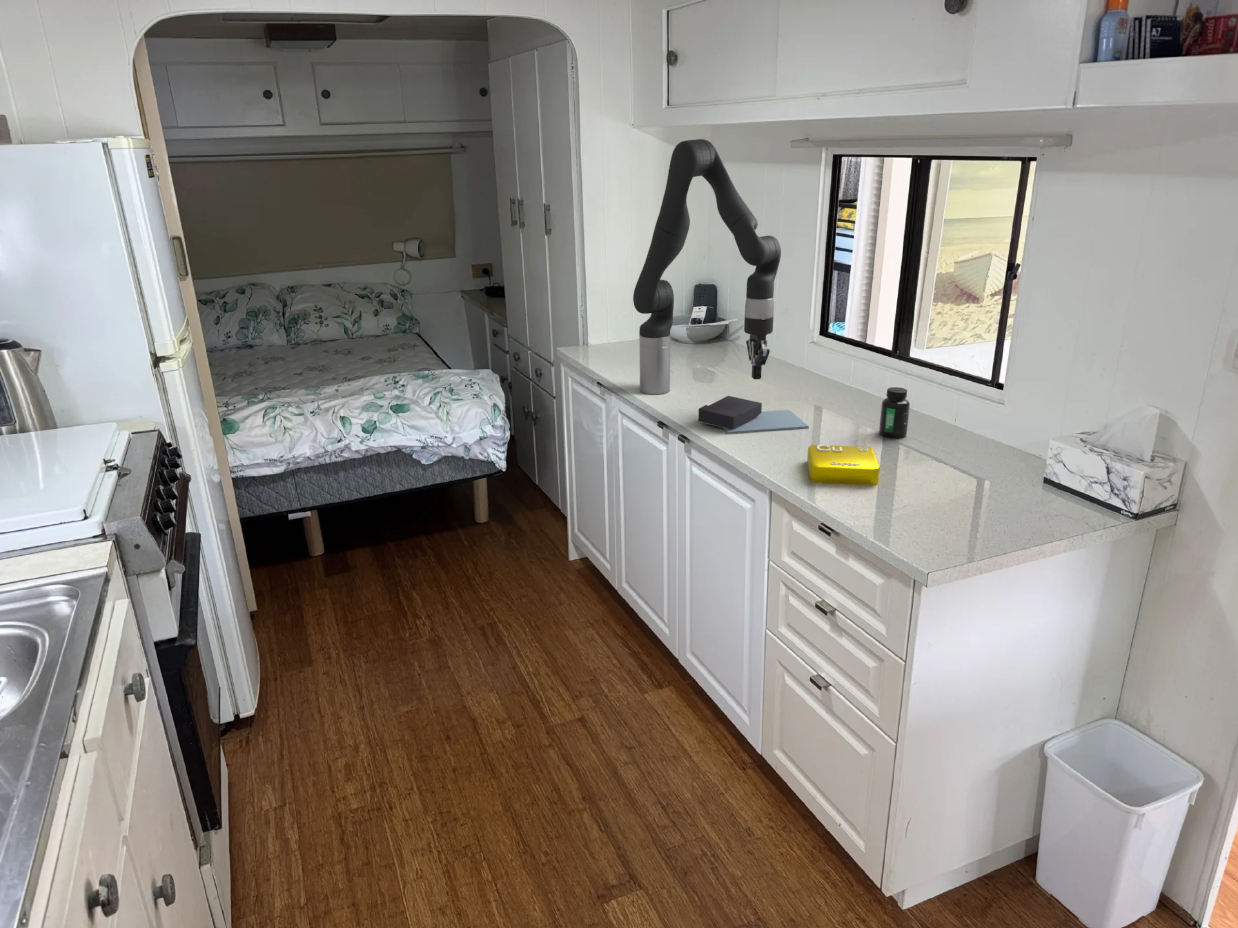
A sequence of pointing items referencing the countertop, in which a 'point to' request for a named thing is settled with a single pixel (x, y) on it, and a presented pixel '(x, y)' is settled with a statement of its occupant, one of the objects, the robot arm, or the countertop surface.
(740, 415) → the dark grey boxy piece
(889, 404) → the supplement bottle
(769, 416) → the mat
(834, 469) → the element tile
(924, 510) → the countertop surface
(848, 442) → the countertop surface
